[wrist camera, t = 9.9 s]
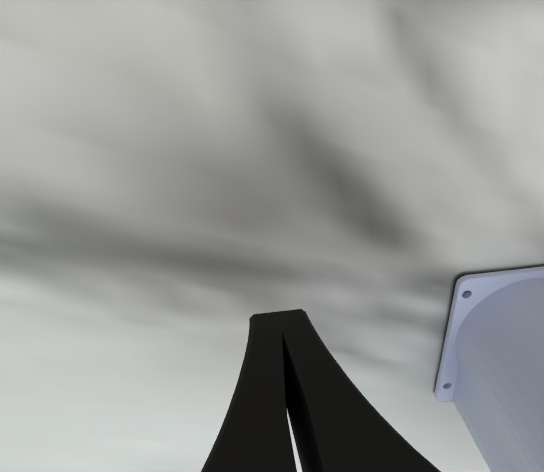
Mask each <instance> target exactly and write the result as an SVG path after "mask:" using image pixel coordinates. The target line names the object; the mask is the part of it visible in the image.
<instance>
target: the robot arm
mask: <svg viewBox="0 0 544 472" xmlns="http://www.w3.org/2000/svg"><path fill="white" fill-rule="evenodd" d="M465 291H467V292H466V293H464V292H465ZM435 397H436V399H437V400H438V401H440V402H447V401H453V402H454V404H455V405H456V407H457V409H458V411H459V413H460V415H461V417H462V418H463V420H464V422H465V424H466V426H467V428H468V430H469V431H470V433H471V435H472V437H473V439H474V441H475V443H476V444H477V446H478V448H479V450H480V452H481V454H482V456H483V457H484V459H485V461H486V463H487V465H488V467H489V469H490V470H491V472H544V266H543V267H534V268H525V269H516V270H507V271H498V272H490V273H481V274H472V275H465V276H462V277H461V278H459V279H458V281H457V283H456V286H455V291H454V297H453V302H452V307H451V312H450V317H449V322H448V327H447V332H446V337H445V343H444V348H443V353H442V358H441V363H440V368H439V373H438V378H437V383H436V388H435ZM287 410H288V414H289V418H290V422H291V426H292V430H293V435H294V439H295V443H296V447H297V451H298V455H299V459H300V463H301V467H302V471H303V472H441V471H439V470H438V469H437V468H436V467H435V466H434V465H432V464H431V463H430V462H429V461H428V460H427V459H426V458H424V457H423V456H422V455H421V454H420V453H419V452H418V451H416V450H415V449H414V448H413V447H412V446H411V445H410V444H409V443H408V442H407V441H406V440H405V439H404V438H403V437H402V436H401V435H400V434H399V433H398V432H397V431H396V430H395V429H394V428H393V427H392V426H391V425H390V424H389V423H388V422H387V421H386V420H385V419H384V418H383V417H382V416H381V415H380V414H379V413H378V412H377V411H376V409H375V408H374V407H373V406H372V405H371V404H370V403H369V402H368V401H367V399H366V398H365V397H364V396H363V395H362V393H361V392H360V391H359V390H358V389H357V388H356V386H355V385H354V384H353V383H352V381H351V380H350V379H349V378H348V376H347V375H346V374H345V373H344V371H343V370H342V368H341V367H340V366H339V364H338V363H337V362H336V360H335V359H334V358H333V356H332V355H331V353H330V352H329V351H328V349H327V348H326V346H325V345H324V343H323V342H322V340H321V339H320V337H319V335H318V334H317V332H316V331H315V329H314V327H313V325H312V324H311V322H310V320H309V318H308V316H307V314H306V312H305V311H303V310H302V309H297V310H289V311H280V312H271V313H262V314H254V315H253V316H252V317H251V318H250V327H249V336H248V343H247V348H246V352H245V357H244V361H243V364H242V368H241V372H240V375H239V379H238V382H237V386H236V389H235V391H234V394H233V397H232V400H231V403H230V406H229V409H228V412H227V414H226V417H225V419H224V422H223V424H222V427H221V429H220V432H219V434H218V436H217V439H216V441H215V443H214V445H213V448H212V450H211V452H210V454H209V456H208V458H207V461H206V463H205V465H204V467H203V469H202V471H201V472H297V470H296V464H295V459H294V453H293V447H292V442H291V436H290V430H289V424H288V418H287Z"/></svg>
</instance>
